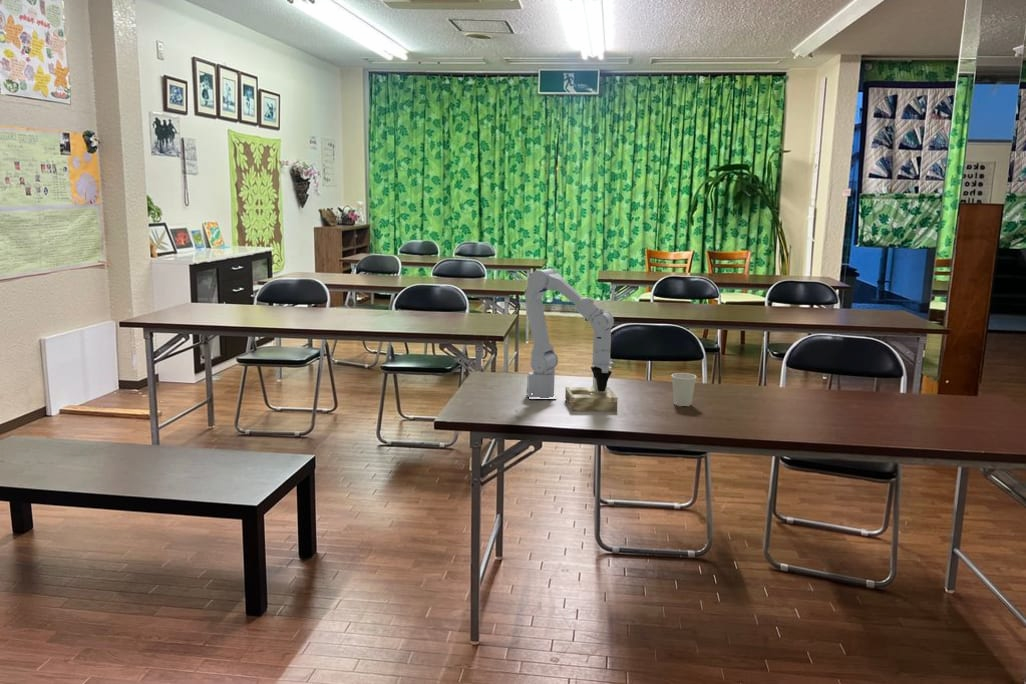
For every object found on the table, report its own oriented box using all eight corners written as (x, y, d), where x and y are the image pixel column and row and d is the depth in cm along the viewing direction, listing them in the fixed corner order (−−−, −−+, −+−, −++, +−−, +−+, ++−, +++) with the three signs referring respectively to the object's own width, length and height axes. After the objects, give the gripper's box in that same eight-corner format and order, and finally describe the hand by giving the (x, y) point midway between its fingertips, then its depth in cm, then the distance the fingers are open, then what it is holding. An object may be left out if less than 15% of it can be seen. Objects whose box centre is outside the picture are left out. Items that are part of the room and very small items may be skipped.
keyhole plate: (571, 411, 251) (571, 397, 250) (565, 400, 264) (565, 387, 264) (617, 410, 252) (617, 397, 251) (608, 400, 266) (609, 387, 265)
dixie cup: (697, 407, 257) (699, 378, 256) (672, 407, 258) (673, 378, 256) (692, 401, 266) (693, 373, 264) (667, 401, 266) (669, 372, 264)
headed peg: (594, 405, 256) (595, 378, 255) (592, 402, 260) (593, 376, 258) (606, 405, 256) (607, 378, 255) (603, 402, 260) (604, 376, 259)
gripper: (618, 353, 248) (616, 394, 251) (609, 345, 262) (607, 384, 265) (596, 353, 248) (595, 394, 250) (588, 345, 262) (587, 384, 264)
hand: (600, 389), depth 257 cm, fingers closed on headed peg, 4 cm apart
